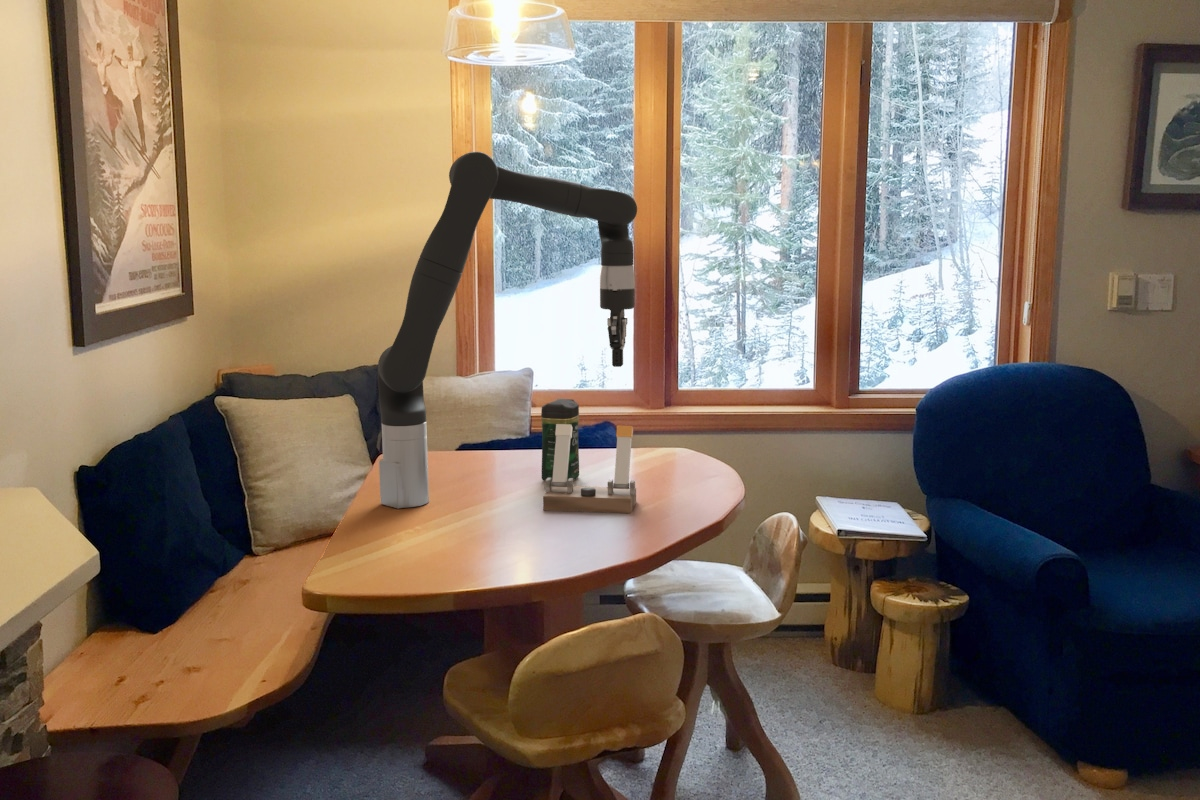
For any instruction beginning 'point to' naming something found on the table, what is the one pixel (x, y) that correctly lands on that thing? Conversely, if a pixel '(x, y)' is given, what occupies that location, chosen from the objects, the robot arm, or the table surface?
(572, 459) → the coffee jar
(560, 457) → the lever ivory
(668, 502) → the table surface
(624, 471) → the lever orange
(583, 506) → the console
